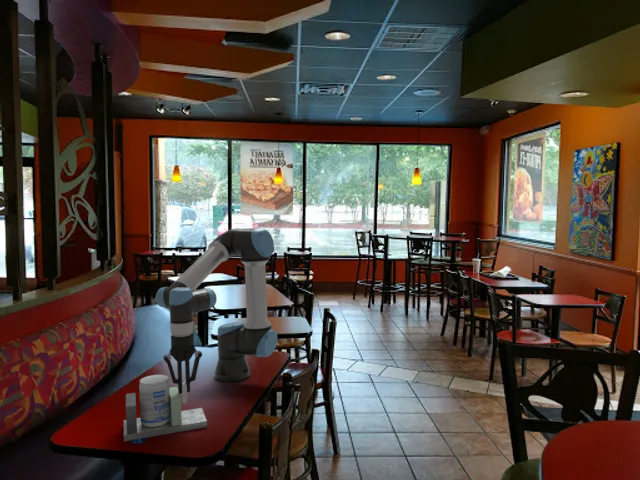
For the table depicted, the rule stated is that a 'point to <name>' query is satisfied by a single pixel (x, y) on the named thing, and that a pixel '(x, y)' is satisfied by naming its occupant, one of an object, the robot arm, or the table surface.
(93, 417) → the table surface
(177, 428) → the vise
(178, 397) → the block
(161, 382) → the supplement tub
